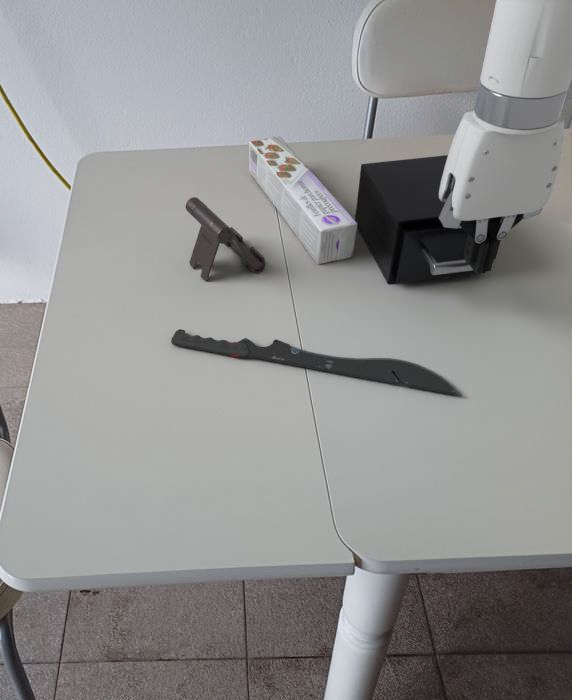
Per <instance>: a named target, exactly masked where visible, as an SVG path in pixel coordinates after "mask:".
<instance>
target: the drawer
mask: <svg viewBox="0 0 572 700" xmlns="http://www.w3.org/2000/svg"><path fill="white" fill-rule="evenodd" d="M467 237H468V233H466V232H465V231H464V230H463V229H462V228H458V229H457V228H446V227H444V226H443V225H442V224H441V223H440V224H431V225H422V226H413V227H409V226H404V228H402V233H401V238H400V244H399V250H398V256H397V262H396V268H395V273H394V279H395V281H396V283H395V284H404V283H413V282H420V281H429V280H437V279H447V278H454V277H462V276H463V277H464V276H470V275H480V274H486V272H485V271H482V272H481V273H475V272H474V270H473V269H472V268H471V266H470V265H469V263H467V262H466V261H465V259H464V250H465V245H466V241H467ZM493 267H494V264H493V265H492V268H493Z"/></svg>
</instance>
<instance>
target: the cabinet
mask: <svg viewBox="0 0 572 700" xmlns="http://www.w3.org/2000/svg"><path fill="white" fill-rule="evenodd" d="M447 157H448V154H446V155H445V154H444V155H436V156H425V157H418V158H417V157H416V158H407V159H397V160H396V159H395V160H387V161H379V162H368V163H360V172H359V180H358V190H357V199H356V206H355V216H354V220H355V221H356V222H357V231H358V232H359V234H360V236H361V238H362V240H363V241H364V243H365V244H366V247H367V249H368V251H369V252H370V254H371V256H372V257H373V259H374V261H375V263H376V265H377V267H378V269H379V271H380V272H381V274H382V276H383V278H384V280H385V281H386V283H387V285H391V284H397V283H396V281H395V279H394V273H395V268H396V262H397V256H398V250H399V244H400V238H401V233H402V228H404V226H411V225H420V224H429V223H438V222H440V221H439V219H438V218H439V215H440V213H441V211H442V209H443V207H444V204H445V202H443V201H442V202H441V200H440V199H439V189H440V184H441V179H442V175H443V171H444V168H445V164H446V161H447Z"/></svg>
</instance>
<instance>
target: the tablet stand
mask: <svg viewBox="0 0 572 700" xmlns="http://www.w3.org/2000/svg"><path fill="white" fill-rule="evenodd" d="M185 210H186V211H187V213H188V214H190V215H191V216H192V217H193V218H194V219H195V220H196V221H197V223H198V224H200V228H199V231H198V234H197V237H196V239H195V244H194V246H193V250H192V252H191V256H190V258H189V263H188V264H189V266H190V267H191V268H192V269H193V270H195V269H196V267H197V265H198V264H199V265H200V266H201V272H200V278H201V279H202V280H203V281H205V282H206V281H208V279H209V276H210V274H211V271H212V268H213V266H214V262H215V259H216V255H217V253H218V251H219V248H220V244H222V245H225V246H226V247H227V248H228V249H230V251H231V252H233V253H234V254H235V255H236V256H237V257H238V258H239V260H240V261H242V262H243V263H244V265H246V267H247V268H248V269H249V270H250V271H251V272H253V273H254V274H260V273H262V272H263V271H264V269H265V268H266V257H265V256H264V255H263V254H262V253H261V252H259V250H257V249H256V248H255V247H254V246H249V245H247V243H245V241H244V237H243V236H242V235H241V234H240V233H239V232H238V231H237V230H236V229H235V228H234V227H233V226H229V225H228V224H226V223H225V222H224V221H223V220H222V219H221V218H220V217H219V216H218V215H217V214H216V213H215V212H213V210H211V209H210V208H209V207H208V205H207V204H205V203H204V202H203V201H201V199H200V198H198V197H196V196H193V197H190V198H188V200H187V201H186V203H185Z"/></svg>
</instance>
